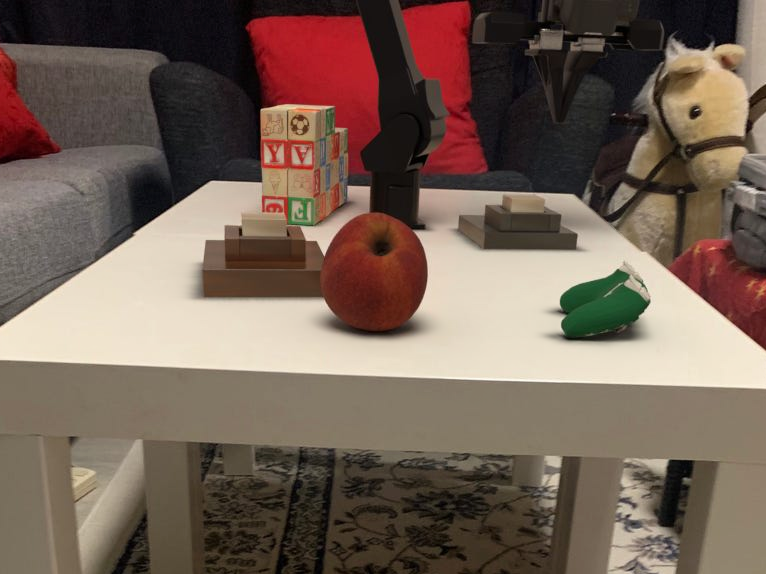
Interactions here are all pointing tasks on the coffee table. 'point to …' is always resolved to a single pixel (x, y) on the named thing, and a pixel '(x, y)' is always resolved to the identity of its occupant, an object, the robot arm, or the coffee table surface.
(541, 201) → the key
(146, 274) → the coffee table surface
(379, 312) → the apple
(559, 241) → the grey stepped pedestal
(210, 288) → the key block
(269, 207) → the stack of blocks
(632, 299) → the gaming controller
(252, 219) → the key
